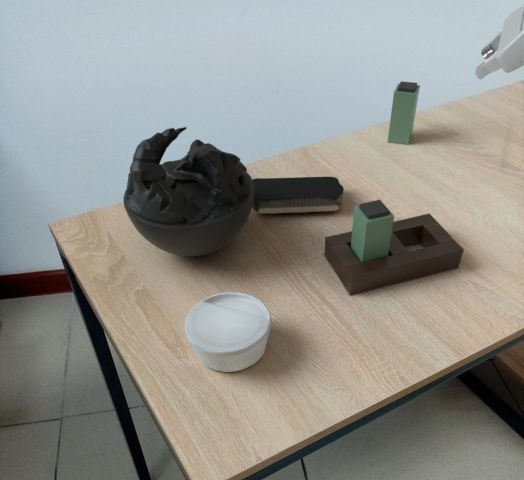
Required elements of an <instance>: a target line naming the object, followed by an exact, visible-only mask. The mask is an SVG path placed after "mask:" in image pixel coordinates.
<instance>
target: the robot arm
mask: <svg viewBox="0 0 524 480" xmlns="http://www.w3.org/2000/svg"><path fill="white" fill-rule="evenodd" d="M480 54H481V56H482V57H483V59H484V60H486V61H483V62H482V63H481V64H480V65H478V66H477V67H476V69H475V71H474V74H475V75H476V77H477V79H479V80H482V79H484V78H485V77H486V76H488V75H489V74H492V73H495V72H497V71H499V70H500V69H502V71H504V73H506V74H508V73H511V72H515V71H516V70H518V69H520V68H521V67H523V66H524V3H523V4H522V5H520V6H519V7H517V8H516V9H515V10H514V11H513V12H511V13H510V14H509V15H508V16H507V17H506V18H505V19H504V23H503V26H502V30H500V31H499V32H498V33H497V34H496V35H495V36H494V38H493V39H491V41H489V43H487V44H486V45H485V46H484V47H483V48H482V49H481V51H480ZM490 57H491V58H490ZM489 58H490V59H489Z"/></svg>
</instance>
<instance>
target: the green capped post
mask: <svg viewBox="0 0 524 480" xmlns="http://www.w3.org/2000/svg"><path fill="white" fill-rule="evenodd" d="M420 87H421V85H419V84H418V82H411V81H400V82H399V83H397V85H396V87H395V89H394V91H393V97H392V105H391V113H390V118H389V119H390V120H389V128H388V135H387V143H391V144H392V143H393V144H400V145H407V146H409V143H410V141H411V139H412V136H413V131H414V125H415V118H416V113H417V107H418V100H419V94H420Z"/></svg>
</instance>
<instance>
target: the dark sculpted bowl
mask: <svg viewBox="0 0 524 480" xmlns="http://www.w3.org/2000/svg"><path fill="white" fill-rule="evenodd" d="M185 130H187V126H184V127H179V128H176V129H175V127H169V128H166V129H165V130H163V131H162V132H156V133H155V134H153V135H152V136H151V137H149V138H146V139H143V140H141V141H140V142H139V144H137V146H136V148H135V150H134V152H133V155H132V162H131V164H130V167H129V173H128V174H127V175H128V176H127V182H126V189H125V191H124V194H123V207H124V209H125V213H126V214H127V216H128V219H129V220H130V222H131V223H132V225H133V227H134V229H136V230H137V232H138V233H139V234H140V235H141V236H142V237H143V238H144V239H145V240H146V241H147V242H149V243H150V244H151V245H153V246H155V248H158V249H160V250H161V251H163V252H166V253H168V254H172V255H176V256H181V257H199V256H200V257H201V256H205V255H209V254H211V253H214V252H216V251H219V250H221V249H223V248H224V247H226V246H227V245H228V244H230V243H231V242H232V241H233V240H235V238H237V236H238V235H239V234H240V233H241V232H242V230H243V229H244V227H245V225H246V224H247V222H248V220H249V217H250V214H251V212H252V210H253V208H252V206H253V201H254V183H253V180H252V179H253V178H252V176H251V175H250V174H249V172H248V171H247V170H248V168H247V167H246V166H245V165H244V163H242V161H241V158H240V157H239V156H237V155H236V154H233V153H230V152H226V151H222V150H221V149H219V148H218V147H216V146H215V145H213V144H212V143H210V142H207V143H204V141H202V140H200V139H198V138H197V139H195V140H192V142H191V144H190V147H189V150H188V151H187V153H186V155H184V156H183V157H182V158H180V159H176V160H168V161H164V162H163V163H161V161H162V159H163V157H164V155H165V153H166V151H167V149H168V148H169V146H171V144H172V143H173V142H174V141H176V139H178V137H179V136H180V135H181V133H183V132H184V131H185Z"/></svg>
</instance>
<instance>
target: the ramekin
mask: <svg viewBox="0 0 524 480" xmlns="http://www.w3.org/2000/svg"><path fill="white" fill-rule="evenodd" d="M271 327H272V316H271V312H270V310H269V307H268V306H266V304H265V303H264V302H262V300H260V299H259V298H257V297H255V296H253V295H250V294H246V293H244V292H243V293H242V292H233V291H232V292H231V291H229V292H228V291H227V292H222V293H217V294H213V295H210V296H207V297H205V298H203V299H201V300H200V301H198V302H197V303H196V304H194V306H193V307H192V308H191V309H190V310H189V311H188V313H187V315H186V317H185V320H184V332H185V336H186V340H187V341H188V343H189V345H191V347H192V349H193V351H194V353H195V355H196V357H197V358H198V361H200V362H201V363H202V364H203V365H204V366H207V367H208V368H210V369H211V370H214V371H217V372H224V373H226V372H227V373H232V372H239V371H243V370H245V369H247V368H249V367H251V366H253V365H255V364H256V363H257V362H258V361H259V360H260V359H261V358H262V356H264V353H265V351H266V348H267V344H268V340H269V339H268V338H269V334H270V332H271Z"/></svg>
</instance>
